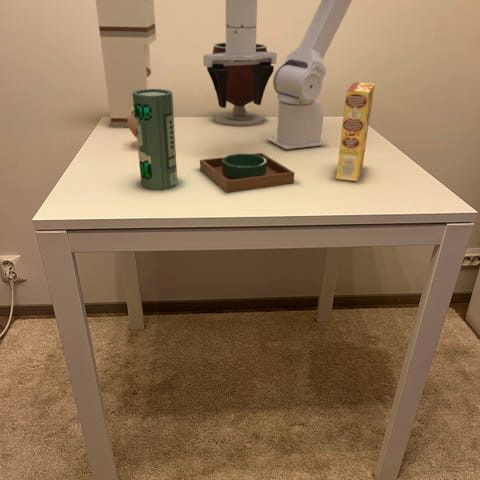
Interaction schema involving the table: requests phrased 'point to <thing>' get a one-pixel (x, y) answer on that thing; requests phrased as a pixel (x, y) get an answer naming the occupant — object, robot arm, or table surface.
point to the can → (155, 138)
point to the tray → (273, 177)
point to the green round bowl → (243, 166)
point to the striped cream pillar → (125, 51)
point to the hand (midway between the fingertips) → (239, 105)
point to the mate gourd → (239, 91)
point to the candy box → (354, 130)
